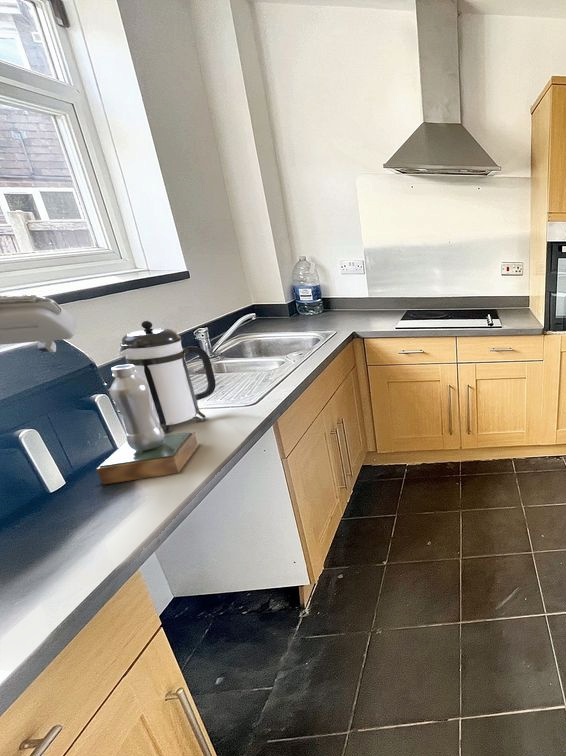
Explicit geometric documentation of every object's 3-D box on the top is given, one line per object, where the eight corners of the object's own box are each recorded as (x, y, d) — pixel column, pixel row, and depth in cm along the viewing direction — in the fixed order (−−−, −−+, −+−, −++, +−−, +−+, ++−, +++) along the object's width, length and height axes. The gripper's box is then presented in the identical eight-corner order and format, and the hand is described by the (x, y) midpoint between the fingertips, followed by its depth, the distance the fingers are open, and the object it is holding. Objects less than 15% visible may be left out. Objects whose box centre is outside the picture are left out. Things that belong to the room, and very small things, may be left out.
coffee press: (196, 431, 116) (166, 325, 106) (129, 436, 112) (92, 327, 102) (223, 407, 132) (199, 313, 121) (166, 411, 128) (136, 315, 118)
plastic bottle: (166, 449, 97) (140, 367, 90) (128, 457, 93) (98, 373, 87) (168, 438, 102) (144, 360, 95) (132, 446, 98) (104, 365, 92)
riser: (102, 484, 91) (95, 467, 89) (131, 455, 103) (126, 439, 102) (178, 472, 95) (173, 456, 94) (198, 445, 108) (194, 430, 106)
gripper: (49, 278, 62) (95, 330, 73) (-171, 285, 53) (-80, 343, 64) (47, 312, 60) (94, 360, 71) (-184, 326, 51) (-87, 378, 62)
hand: (10, 352), depth 68 cm, fingers open, 8 cm apart
